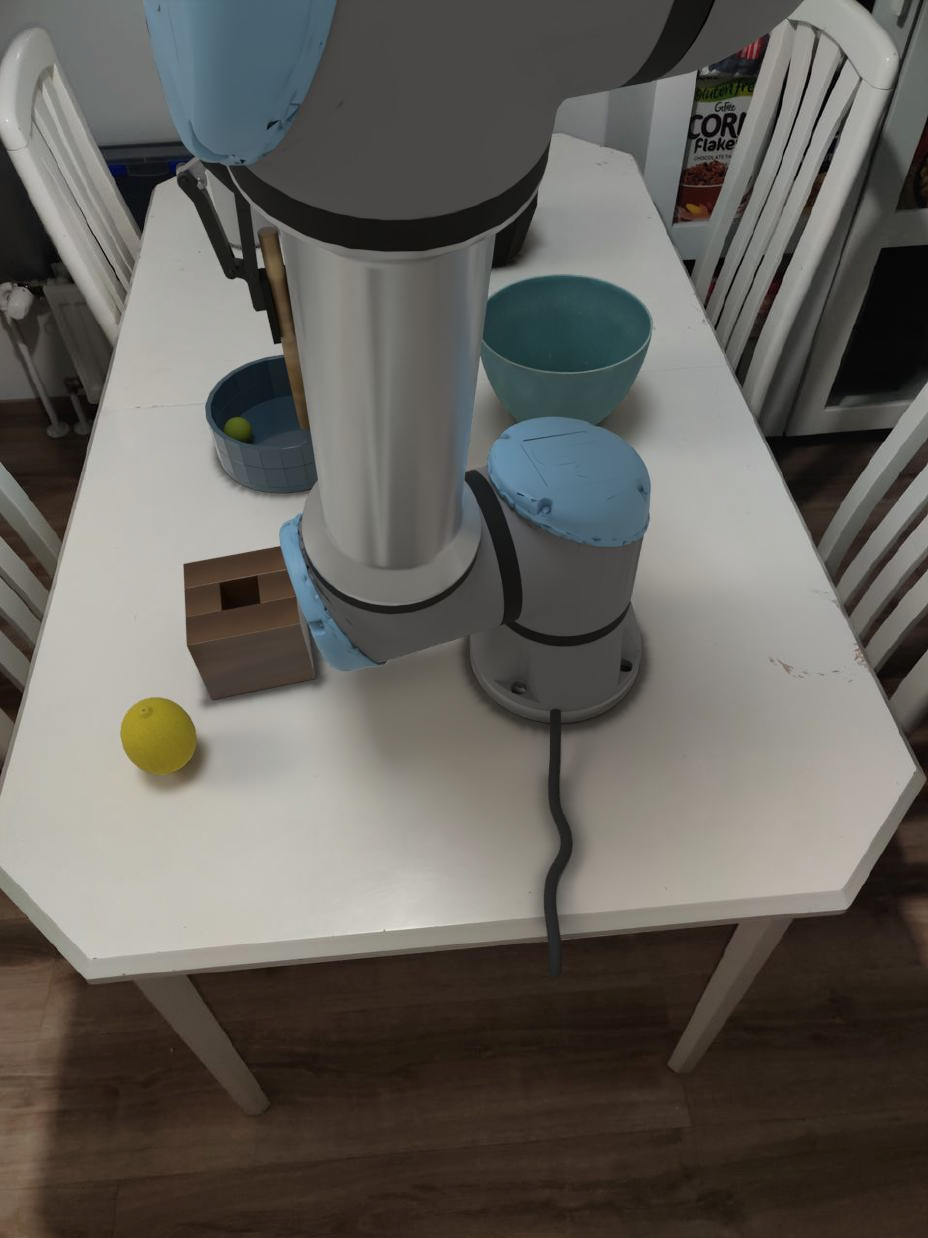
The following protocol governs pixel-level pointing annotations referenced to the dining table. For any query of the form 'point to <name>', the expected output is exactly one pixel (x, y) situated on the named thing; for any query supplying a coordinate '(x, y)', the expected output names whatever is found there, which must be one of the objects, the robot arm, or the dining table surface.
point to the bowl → (262, 428)
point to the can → (233, 212)
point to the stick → (284, 317)
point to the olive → (238, 429)
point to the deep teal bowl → (564, 346)
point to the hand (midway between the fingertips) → (288, 333)
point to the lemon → (158, 735)
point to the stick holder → (245, 623)
